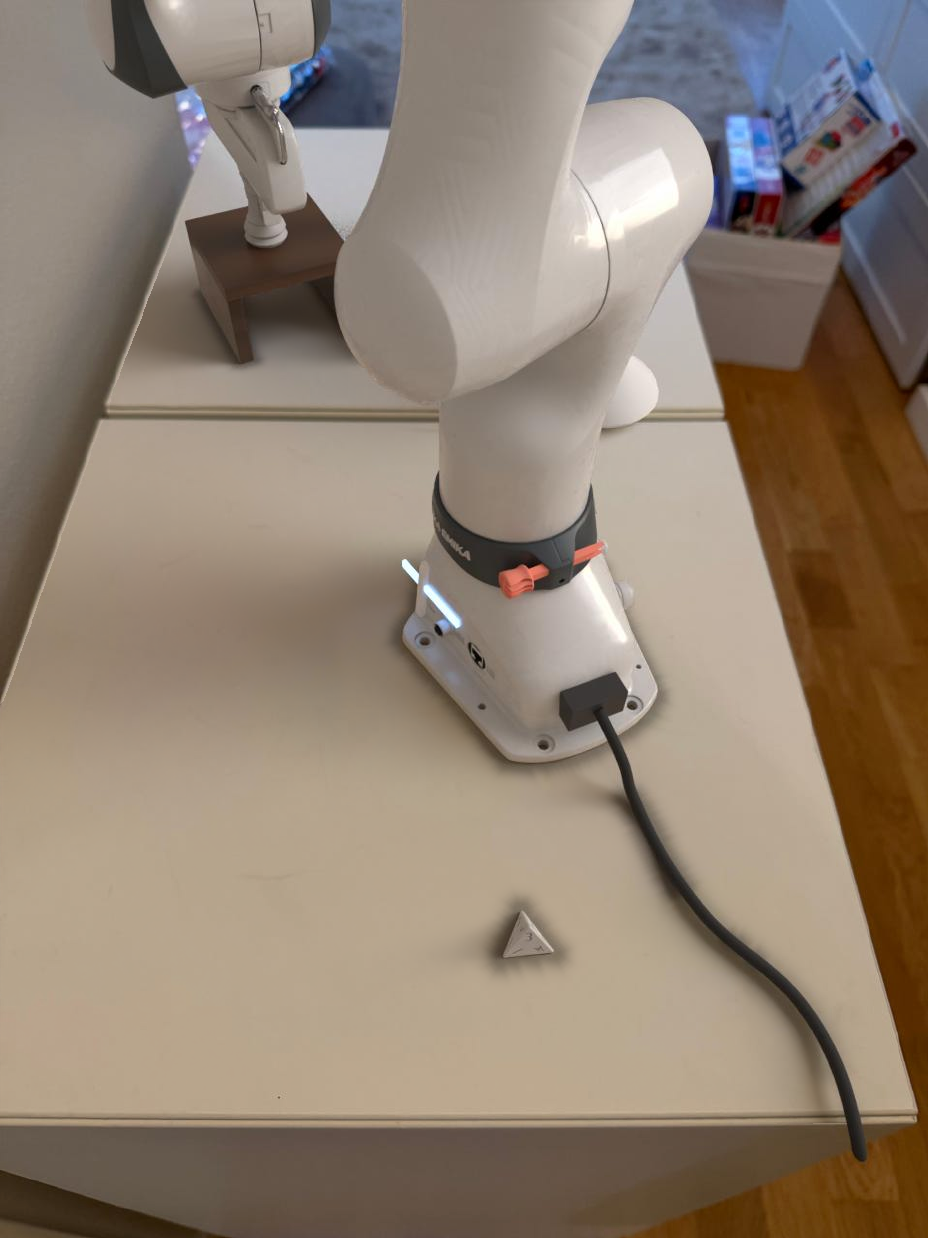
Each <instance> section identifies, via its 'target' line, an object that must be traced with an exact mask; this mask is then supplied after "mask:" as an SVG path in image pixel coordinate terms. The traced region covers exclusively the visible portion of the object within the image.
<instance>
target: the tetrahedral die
mask: <svg viewBox="0 0 928 1238" xmlns="http://www.w3.org/2000/svg"><path fill="white" fill-rule="evenodd" d="M554 952H555V949H553V947H552V946H551V945H550V943H549V942H548V941H547V940H546V938H545V937H544V935H542V933H541V932H540V931H539V929H538V928H537V927H536V925H535V924H534V923H533V922H532V921H531V919H530V918H529V916H528V915H527V914H526V912H525V911H524V910H521V911H520V913H519V914H518V918H517V919H516V922H515V924H514V927H513V930H512V932H511V935H510V937H509V940H508V942H507V945H506V947H505V949H504V952H503V955H502V957H503V958H504V959H506V958H515V957H524V956H532V955H542V954H550V953H551V954H552V953H554Z"/></svg>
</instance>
